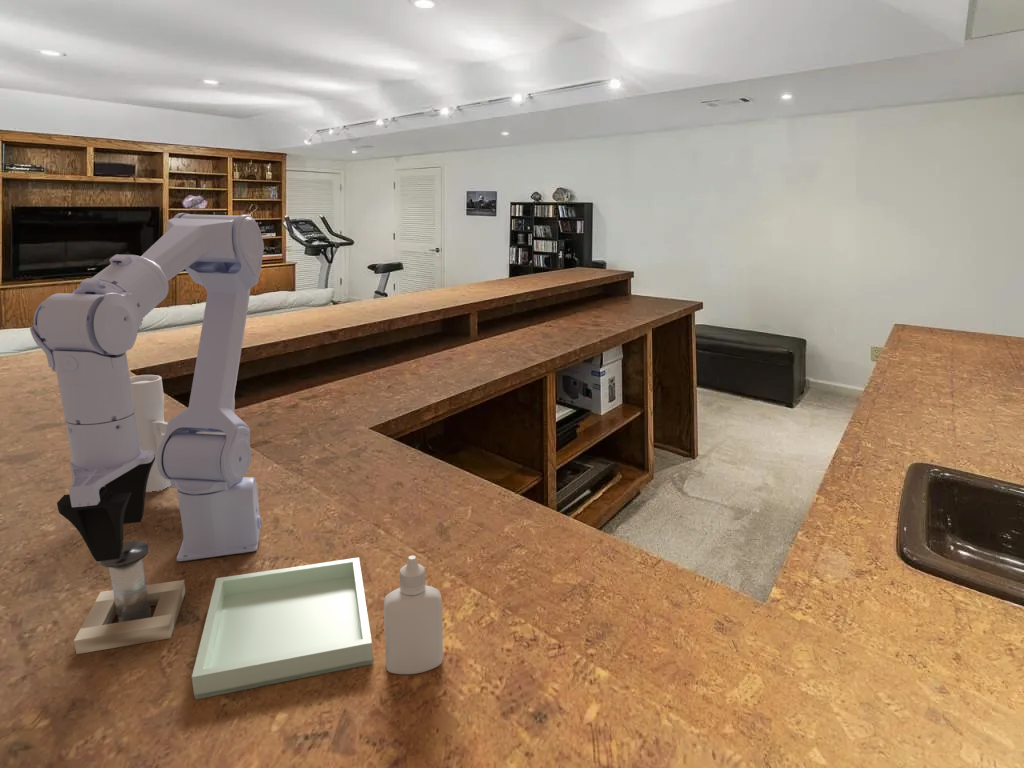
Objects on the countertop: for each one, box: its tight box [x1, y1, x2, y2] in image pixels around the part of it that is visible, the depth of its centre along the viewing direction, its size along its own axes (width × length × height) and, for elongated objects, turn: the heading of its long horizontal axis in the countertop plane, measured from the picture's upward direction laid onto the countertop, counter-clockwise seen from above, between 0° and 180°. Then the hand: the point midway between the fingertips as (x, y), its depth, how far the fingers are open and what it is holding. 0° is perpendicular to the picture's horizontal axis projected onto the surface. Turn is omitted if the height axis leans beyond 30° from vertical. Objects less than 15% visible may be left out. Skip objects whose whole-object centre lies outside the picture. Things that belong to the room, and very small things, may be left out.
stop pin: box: [98, 540, 152, 623], centre depth 64 cm, size 4×4×8 cm
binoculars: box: [130, 374, 236, 493], centre depth 94 cm, size 17×5×18 cm, turn 84°
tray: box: [191, 557, 374, 701], centre depth 64 cm, size 16×16×2 cm
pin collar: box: [73, 579, 186, 655], centre depth 65 cm, size 8×8×2 cm
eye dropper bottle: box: [383, 555, 444, 675], centre depth 58 cm, size 4×6×12 cm
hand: (120, 539), depth 62 cm, fingers open, 7 cm apart
